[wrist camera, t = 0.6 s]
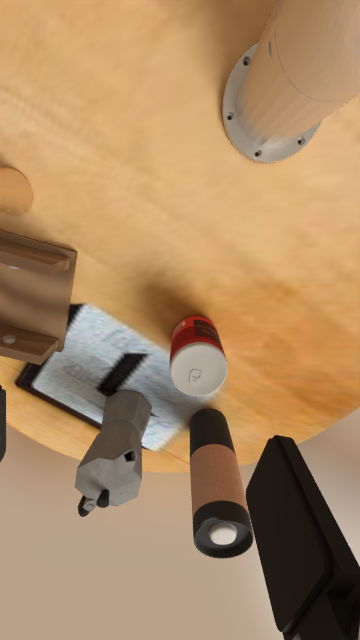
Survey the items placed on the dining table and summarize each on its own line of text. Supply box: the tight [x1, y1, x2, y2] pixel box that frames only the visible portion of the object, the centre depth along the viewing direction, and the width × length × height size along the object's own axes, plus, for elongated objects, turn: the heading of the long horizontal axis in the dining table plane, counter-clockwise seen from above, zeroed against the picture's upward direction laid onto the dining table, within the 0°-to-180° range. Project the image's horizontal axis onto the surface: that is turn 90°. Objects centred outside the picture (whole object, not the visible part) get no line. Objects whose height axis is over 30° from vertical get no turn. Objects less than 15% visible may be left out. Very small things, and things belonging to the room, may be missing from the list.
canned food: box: [170, 316, 228, 396], centre depth 40 cm, size 8×8×11 cm
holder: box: [0, 230, 77, 365], centre depth 39 cm, size 17×12×7 cm
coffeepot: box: [75, 390, 152, 517], centre depth 42 cm, size 15×9×18 cm, turn 145°
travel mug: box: [190, 409, 253, 558], centre depth 42 cm, size 8×8×20 cm
